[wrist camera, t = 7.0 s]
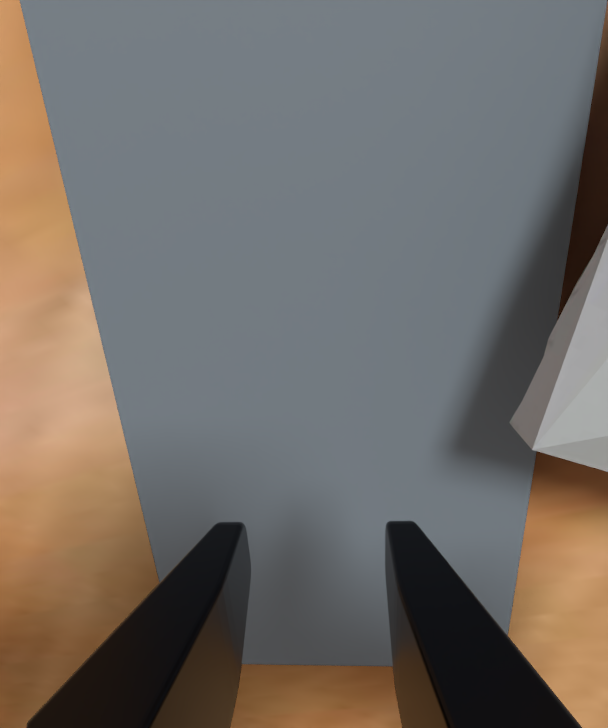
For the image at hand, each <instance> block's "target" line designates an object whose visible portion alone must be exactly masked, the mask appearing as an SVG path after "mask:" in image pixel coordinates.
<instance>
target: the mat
mask: <svg viewBox="0 0 608 728" xmlns="http://www.w3.org/2000/svg"><path fill="white" fill-rule="evenodd" d="M20 4H21V8H22V12H23V16H24V20H25V25H26V29H27V33H28V37H29V41H30V45H31V50H32V54H33V58H34V62H35V66H36V70H37V75H38V79H39V83H40V87H41V91H42V95H43V100H44V104H45V108H46V112H47V116H48V120H49V124H50V129H51V133H52V137H53V141H54V145H55V149H56V154H57V158H58V162H59V166H60V170H61V174H62V179H63V183H64V187H65V191H66V195H67V199H68V204H69V208H70V212H71V216H72V220H73V224H74V229H75V233H76V237H77V241H78V245H79V249H80V254H81V258H82V262H83V266H84V270H85V274H86V278H87V283H88V287H89V291H90V295H91V299H92V303H93V308H94V312H95V316H96V320H97V324H98V328H99V333H100V337H101V341H102V345H103V349H104V353H105V358H106V362H107V366H108V370H109V374H110V378H111V383H112V387H113V391H114V395H115V399H116V403H117V408H118V412H119V416H120V420H121V424H122V428H123V433H124V437H125V441H126V445H127V449H128V453H129V457H130V462H131V466H132V470H133V474H134V478H135V482H136V487H137V491H138V495H139V499H140V503H141V507H142V512H143V516H144V520H145V524H146V528H147V532H148V537H149V541H150V545H151V549H152V553H153V557H154V562H155V566H156V570H157V574H158V578H159V582H161V581H162V580H163V579H164V578H165V577H166V575H167V574H168V573H169V572H170V571H171V570H172V569H173V568H174V567H175V566H176V565H177V564H178V563H179V562H180V561H181V560H182V559H183V558H184V556H185V555H186V554H187V553H188V552H189V551H190V550H191V549H192V548H193V547H194V546H195V545H196V544H197V543H198V542H199V541H200V540H201V539H202V537H203V536H204V535H205V534H206V533H207V532H208V531H209V530H210V529H211V528H212V527H213V526H214V525H215V524H217V523H218V522H242V523H243V524H244V525H245V527H246V531H247V538H248V545H249V552H250V560H251V582H250V591H249V601H248V610H247V619H246V629H245V638H244V647H243V656H242V664H270V665H337V666H393V663H392V651H391V639H390V626H389V614H388V601H387V589H386V576H385V528H386V524H387V522H389V521H413V522H415V523H416V524H417V525H418V526H419V527H420V528H421V530H422V531H423V532H424V533H425V535H426V536H427V537H428V538H429V540H430V541H431V542H432V543H433V545H434V546H435V547H436V548H437V549H438V551H439V552H440V553H441V554H442V556H443V557H444V558H445V559H446V561H447V562H448V563H449V564H450V565H451V567H452V568H453V569H454V570H455V572H456V573H457V574H458V575H459V577H460V578H461V579H462V580H463V581H464V583H465V584H466V585H467V586H468V588H469V589H470V590H471V591H472V593H473V594H474V595H475V596H476V597H477V599H478V600H479V601H480V602H481V604H482V605H483V606H484V607H485V609H486V610H487V611H488V612H489V613H490V615H491V616H492V617H493V618H494V620H495V621H496V622H497V623H498V625H499V626H500V627H501V628H502V630H503V631H504V632H505V633H506V634H507V636H508V630H509V624H510V618H511V611H512V605H513V598H514V592H515V586H516V579H517V573H518V567H519V560H520V554H521V547H522V541H523V535H524V528H525V522H526V516H527V509H528V503H529V497H530V490H531V484H532V477H533V471H534V465H535V458H536V452H537V451H534V450H532V449H531V448H530V447H529V446H528V444H527V443H526V442H525V441H524V440H523V439H522V437H521V436H520V435H519V434H518V433H517V431H516V430H515V429H514V428H513V427H512V426H511V424H510V423H509V422H510V420H511V419H512V417H513V415H514V414H515V412H516V410H517V409H518V407H519V405H520V404H521V402H522V400H523V398H524V396H525V394H526V392H527V390H528V388H529V386H530V384H531V382H532V380H533V378H534V375H535V373H536V371H537V369H538V367H539V365H540V363H541V361H542V359H543V357H544V353H545V350H546V346H547V342H548V338H549V336H550V334H551V332H552V331H553V329H554V327H555V325H556V323H557V318H558V312H559V306H560V299H561V293H562V286H563V280H564V274H565V267H566V261H567V255H568V248H569V242H570V235H571V229H572V223H573V216H574V210H575V204H576V197H577V191H578V185H579V178H580V172H581V165H582V159H583V153H584V146H585V140H586V134H587V127H588V121H589V115H590V108H591V102H592V95H593V89H594V83H595V76H596V70H597V64H598V57H599V51H600V44H601V38H602V32H603V25H604V19H605V13H606V6H607V0H20Z"/></svg>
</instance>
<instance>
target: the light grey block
mask: <svg viewBox="0 0 608 728" xmlns="http://www.w3.org/2000/svg"><path fill="white" fill-rule="evenodd" d="M509 423H510V424H511V426H512V427H513V428H514V429H515V430H516V431H517V433H518V434H519V435H520V436H521V437H522V439H523V440H524V441H525V442H526V443H527V444H528V446H529V447H530V448H531V449H532V450H534V451H538V452H541V453H545V454H548V455H552V456H555V457H558V458H562V459H565V460H569V461H572V462H576V463H579V464H582V465H586V466H589V467H593V468H596V469H600V470H603V471H606V472H608V225H607V227H606V230H605V232H604V234H603V236H602V238H601V240H600V242H599V244H598V246H597V249H596V251H595V253H594V255H593V257H592V258H591V260H590V261H589V263H588V264H587V266H586V268H585V269H584V271H583V273H582V275H581V276H580V278H579V280H578V282H577V283H576V285H575V287H574V289H573V291H572V293H571V295H570V297H569V299H568V301H567V303H566V305H565V307H564V309H563V311H562V313H561V315H560V317H559V319H558V321H557V323H556V325H555V327H554V329H553V331H552V332H551V334H550V336H549V338H548V342H547V346H546V350H545V353H544V357H543V359H542V361H541V363H540V365H539V367H538V369H537V371H536V373H535V375H534V378H533V380H532V382H531V384H530V386H529V388H528V390H527V392H526V394H525V396H524V398H523V400H522V402H521V404H520V405H519V407H518V409H517V410H516V412H515V414H514V415H513V417H512V419H511V420H510V422H509Z"/></svg>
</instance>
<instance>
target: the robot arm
mask: <svg viewBox="0 0 608 728" xmlns="http://www.w3.org/2000/svg"><path fill="white" fill-rule="evenodd" d="M385 576H386V589H387V601H388V614H389V626H390V639H391V651H392V663H393V673H394V683H395V690H396V696H397V702H398V708H399V713H400V718H401V723H402V728H582V727H581V726H580V724H579V723H578V722H577V721H576V719H575V718H574V717H573V716H572V714H571V713H570V712H569V711H568V710H567V708H566V707H565V706H564V705H563V703H562V702H561V701H560V700H559V698H558V697H557V696H556V695H555V694H554V692H553V691H552V690H551V689H550V687H549V686H548V685H547V684H546V682H545V681H544V680H543V679H542V678H541V676H540V675H539V674H538V673H537V671H536V670H535V669H534V668H533V666H532V665H531V664H530V663H529V662H528V660H527V659H526V658H525V657H524V655H523V654H522V653H521V652H520V650H519V649H518V648H517V647H516V646H515V644H514V643H513V642H512V641H511V639H510V638H509V637H508V636H507V634H506V633H505V632H504V631H503V630H502V628H501V627H500V626H499V625H498V623H497V622H496V621H495V620H494V618H493V617H492V616H491V615H490V613H489V612H488V611H487V610H486V609H485V607H484V606H483V605H482V604H481V602H480V601H479V600H478V599H477V597H476V596H475V595H474V594H473V593H472V591H471V590H470V589H469V588H468V586H467V585H466V584H465V583H464V581H463V580H462V579H461V578H460V577H459V575H458V574H457V573H456V572H455V570H454V569H453V568H452V567H451V565H450V564H449V563H448V562H447V561H446V559H445V558H444V557H443V556H442V554H441V553H440V552H439V551H438V549H437V548H436V547H435V546H434V545H433V543H432V542H431V541H430V540H429V538H428V537H427V536H426V535H425V533H424V532H423V531H422V530H421V528H420V527H419V526H418V525H417V524H416V523H415V522H413V521H389V522H387V524H386V528H385ZM250 582H251V560H250V552H249V545H248V538H247V531H246V527H245V525H244V524H243V523H242V522H218V523H217V524H215V525H214V526H213V527H212V528H211V529H210V530H209V531H208V532H207V533H206V534H205V535H204V536H203V537H202V539H201V540H200V541H199V542H198V543H197V544H196V545H195V546H194V547H193V548H192V549H191V550H190V551H189V552H188V553H187V554H186V555H185V556H184V558H183V559H182V560H181V561H180V562H179V563H178V564H177V565H176V566H175V567H174V568H173V569H172V570H171V571H170V572H169V573H168V574H167V575H166V577H165V578H164V579H163V580H162V581H161V582H160V583H159V584H158V585H157V586H156V587H155V588H154V589H153V590H152V591H151V592H150V593H149V594H148V596H147V597H146V598H145V599H144V600H143V601H142V602H141V603H140V604H139V605H138V606H137V607H136V608H135V609H134V610H133V611H132V612H131V613H130V615H129V616H128V617H127V618H126V619H125V620H124V621H123V622H122V623H121V624H120V625H119V626H118V627H117V628H116V629H115V630H114V631H113V632H112V634H111V635H110V636H109V637H108V638H107V639H106V640H105V641H104V642H103V643H102V644H101V645H100V646H99V647H98V648H97V649H96V650H95V652H94V653H93V654H92V655H91V656H90V657H89V658H88V659H87V660H86V661H85V662H84V663H83V664H82V665H81V666H80V667H79V668H78V669H77V671H76V672H75V673H74V674H73V675H72V676H71V677H70V678H69V679H68V680H67V681H66V682H65V683H64V684H63V685H62V686H61V687H60V688H59V690H58V691H57V692H56V693H55V694H54V695H53V696H52V697H51V698H50V699H49V700H48V701H47V702H46V703H45V704H44V705H43V706H42V707H41V709H40V710H39V711H38V712H37V713H36V714H35V715H34V716H33V717H32V718H31V719H30V720H29V721H28V723H27V728H230V726H231V721H232V717H233V712H234V707H235V703H236V698H237V692H238V687H239V680H240V673H241V666H242V656H243V647H244V638H245V629H246V619H247V610H248V601H249V591H250Z"/></svg>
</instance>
